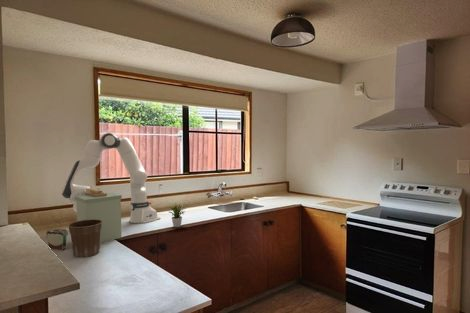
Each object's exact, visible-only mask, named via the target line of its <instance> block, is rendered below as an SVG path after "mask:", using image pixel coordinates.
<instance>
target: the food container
mask: <svg viewBox="0 0 470 313" xmlns="http://www.w3.org/2000/svg"><path fill="white" fill-rule="evenodd" d="M68 232H69V231H68V229H66V228H53V229H49V230H46V231H45V235H46V238H47V247H48V246H49V247H50V248H51V249H52V250H53V251H64V250H66V247H67V237H68V234H69V233H68ZM51 249H50V250H51Z"/></svg>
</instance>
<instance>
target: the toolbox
mask: <svg viewBox="0 0 470 313" xmlns="http://www.w3.org/2000/svg"><path fill="white" fill-rule="evenodd" d="M122 197H123V196H122V194H117V193H114V192H105V193H103V192H102V194H94V193H90V192H89V193H88V195H83V196H75V200H76V203H77V212H76V221H82V220H91V219H96V220H102V225H101V231H100V243H104V242H108V241H109V242H110V241H113V240H116V239H122V206H121V205H122V203H121V202H122V200H121V199H122Z"/></svg>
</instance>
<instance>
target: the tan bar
mask: <svg viewBox="0 0 470 313" xmlns="http://www.w3.org/2000/svg"><path fill="white" fill-rule="evenodd" d="M97 189H98V188H97ZM97 189H96V188H92V187H91V188H87V189H86V194H88V193H89V192H90V193H94V194H102V191H101V190H102V189H100V190H97Z"/></svg>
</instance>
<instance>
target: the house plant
mask: <svg viewBox="0 0 470 313" xmlns="http://www.w3.org/2000/svg"><path fill="white" fill-rule="evenodd" d="M186 206H188V205H186ZM170 209H171V211H169V213H170V214H172V215H171V221H172V226H173V228H180V227H182V220H183V217H182V215H184V214H185V209H187V207H185V206H183V204H181V203H179V205H177V202H175V204H173V206H170Z"/></svg>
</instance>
